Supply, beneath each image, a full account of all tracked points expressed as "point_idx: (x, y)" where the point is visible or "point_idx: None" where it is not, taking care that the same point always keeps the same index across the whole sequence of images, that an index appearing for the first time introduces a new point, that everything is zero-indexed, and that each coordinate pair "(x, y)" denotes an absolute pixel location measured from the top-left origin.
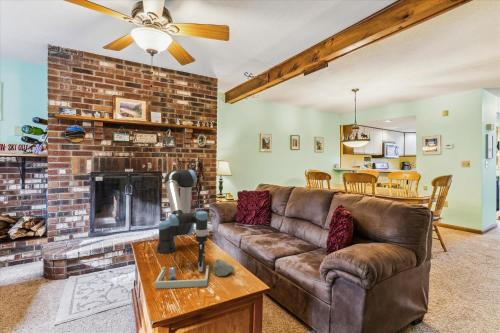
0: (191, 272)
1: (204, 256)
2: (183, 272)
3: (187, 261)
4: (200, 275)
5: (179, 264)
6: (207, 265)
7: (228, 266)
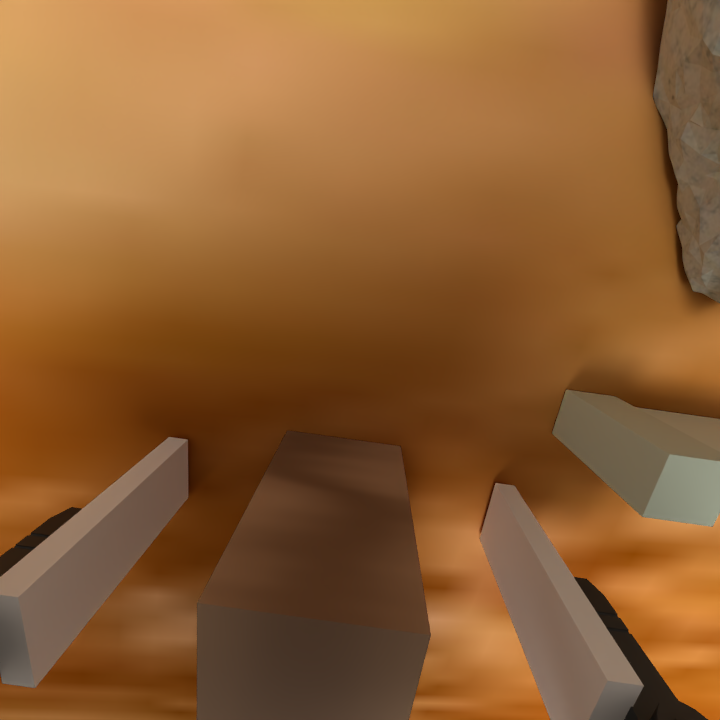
0: (479, 613)
1: (271, 623)
2: (447, 687)
3: (92, 636)
4: (630, 518)
5: (189, 713)
6: (660, 490)
7: None
